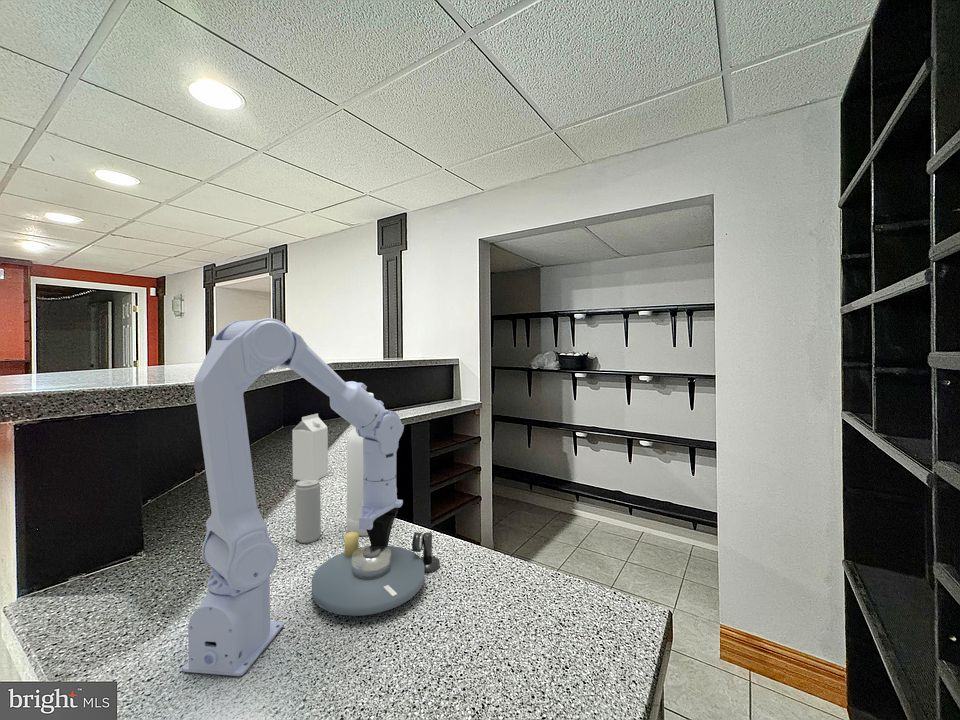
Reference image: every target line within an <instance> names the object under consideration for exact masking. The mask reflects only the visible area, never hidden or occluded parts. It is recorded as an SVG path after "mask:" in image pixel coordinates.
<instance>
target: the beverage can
mask: <svg viewBox="0 0 960 720" xmlns="http://www.w3.org/2000/svg"><path fill="white" fill-rule="evenodd" d="M320 482H321V481H320V479H304V480H297V482H295V483H296V484H295V487H294V489H295V490H294V491H295V493H294V494H295V495H294V496H295V498H294V499H295V501H294V503H295V540H297V542H299V543H301V544H311V543H313V542H316V541H317V540H318V539H319V538H320V537H321V532H322V531H321V530H322V528H321V526H322V525H321V524H322V523H321V519H322V518H321V517H322V516H321V510H322V509H321V505H322V504H321V483H320Z"/></svg>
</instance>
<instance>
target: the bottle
mask: <svg viewBox="0 0 960 720" xmlns="http://www.w3.org/2000/svg"><path fill="white" fill-rule="evenodd" d="M368 393H369V394H370V395H371V396H372V397H374V398H375V396H374V393H373V392H368ZM362 501H363V437H361V436H358V434H357V432H356V428H355V427H354V426H353V428H352V429H351V430H350V432H349V434H348V436H347V439H346V519H345V520H346V521H345V522H346V532H347V533H349V532H357V533H358V534H359V537H367V536H368V533H367V531H366V530H365V529H359V517H360V516H361V514H362ZM368 537H369V536H368Z"/></svg>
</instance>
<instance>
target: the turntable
mask: <svg viewBox="0 0 960 720" xmlns="http://www.w3.org/2000/svg"><path fill="white" fill-rule="evenodd" d="M359 537H360V536H359V534H358V533H357V532H349V533H348V532H346V533H345V534H344V551H343V552H341V553H339V554H337V555H334V556H332V557H331V558H329V559H327V560H326V561H324V562H323V563H322V564H321V565H320V566H318V568H317V569H316V570H315V572H314V573H313V576H312V578H311V597H312V599H313V601H314V603H315V604H317V605H318V607H320V608H321V609H323V610H325V611H327V612H330V613H333V614H336V615H342V616H351V617H352V616H355V617H357V616H358V617H359V616H369V615H374V614H379V613H383V612H386V611H391V610H392V609H395V608H397V607H399V606H401V605H403V604H405V603H406V602H408V601H409V600H411V599H412V598H413V597H414V596H416V594H418V593H419V591H420V590H421V589H422V587H423V585H424V582H425V573H424V569H425V567H424V563H423V561H422V559H421V557H420V556H419V555H418V554H417V553H415V552H413V550H410V549H406V548H405V547H399V546H395V545H388V546H387V547H388V548H389V549H390V550H391V570H390V572H389V573H388V574H386V575H385V576H383V577H381V578H378V579H373V580H361V579H357V578H355V577H354V576H353V575H352V554H353V553H354V552H355V551H356V550H358V549H359V548H362V547H363V546H362V547H361V546H360V545H359V543H360V542H359ZM359 546H360V547H359ZM390 609H391V610H390Z"/></svg>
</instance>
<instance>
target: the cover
mask: <svg viewBox="0 0 960 720" xmlns="http://www.w3.org/2000/svg"><path fill="white" fill-rule="evenodd" d="M390 570H391V550H390V549H389V548H388V547H386V546H382V545H371V544H370V545H365V546H362V548H361V547H359V549H358V550H356V551H355V552H354V553H353V554H352V575H353V576H354V577H355V578H357V579H361V580H373V579H378V578H381V577H383V576H385V575H386V574H388V573H389V572H390Z"/></svg>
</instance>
